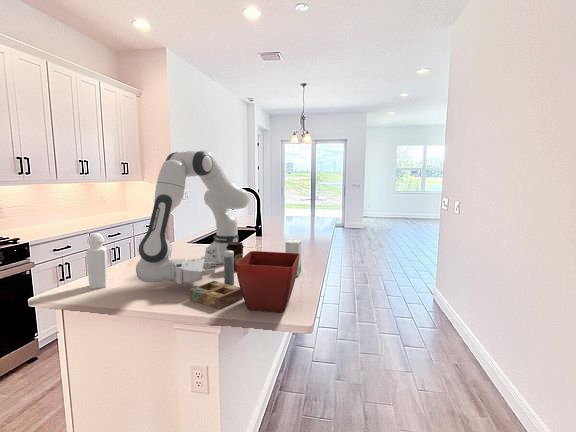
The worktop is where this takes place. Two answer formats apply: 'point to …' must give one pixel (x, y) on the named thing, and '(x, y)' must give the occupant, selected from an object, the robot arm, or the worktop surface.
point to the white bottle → (96, 261)
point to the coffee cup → (236, 251)
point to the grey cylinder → (229, 267)
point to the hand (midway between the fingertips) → (215, 267)
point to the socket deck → (216, 294)
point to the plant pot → (267, 279)
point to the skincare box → (294, 251)
